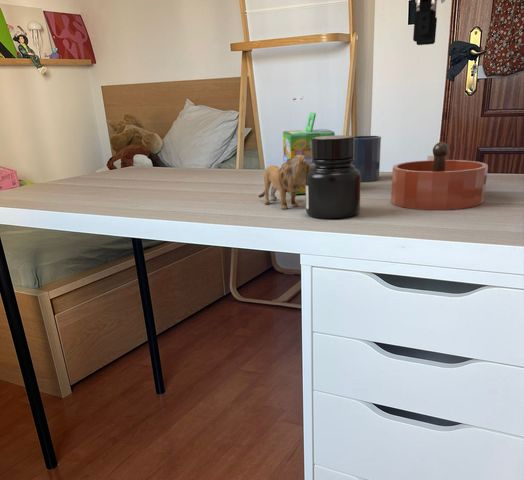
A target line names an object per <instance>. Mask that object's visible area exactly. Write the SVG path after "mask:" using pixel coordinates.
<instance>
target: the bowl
mask: <svg viewBox="0 0 524 480" xmlns="http://www.w3.org/2000/svg"><path fill="white" fill-rule="evenodd" d="M433 162H434V155H427V158H426V160H413V161H406V162H400V163H396V164H395V165H393V166H392V173H391V176H392V177H391V192H390V203H391V204H393V205H394V206H397V207H401V208H406V209H413V210H426V211H448V210H449V211H450V210H461V209H470V208H474V207H477V206H480V205H482V204H483V203H484V201H485V194H486V186H487V179H488V178H487V177H488V171H489V165H488V164H487V163H486V162H481V161H474V160H465V159H446V163H445V171H436V172H433Z"/></svg>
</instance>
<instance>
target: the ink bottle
mask: <svg viewBox="0 0 524 480" xmlns="http://www.w3.org/2000/svg"><path fill="white" fill-rule="evenodd" d="M355 136H356V135H350V134H349V135H347V134H346V135H343V134H341V135H340V134H339V135H336V134H335V136H321V137H314V138H312V158H313V159H312V162H313V163H315V166H313V167H312V168H311V170H310V171H308V173H307V174H306V194H305V212H306V213H305V214H306V215H308V216H310V217H314V218H320V219H342V218H347V217H352V216H356V215H358V214H359V213H360V212H361V185H362V182H361V174H360V171H359V170H358V169H356V168H355V166H354V165H352V164H351V162H353V161H354V159H355V158H354V156H355Z"/></svg>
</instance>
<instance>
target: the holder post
mask: <svg viewBox="0 0 524 480" xmlns="http://www.w3.org/2000/svg"><path fill="white" fill-rule="evenodd" d="M449 150H450V149H449V145H448V144H447V143H446V142H443V141H440V142H439V141H438V142H436V144H434V146H433V147H432V156H434V162H433V172H436V171H445V163H446V160H447V155H448V153H449Z"/></svg>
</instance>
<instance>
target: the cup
mask: <svg viewBox="0 0 524 480" xmlns="http://www.w3.org/2000/svg"><path fill="white" fill-rule="evenodd" d="M354 136H355V156H354V158H355V159H354V161H353V162H351V164H352V165H354V166H355V168H356V169H358V170H359V171H360V174H361V183H370V182H376V181H379V180H380V170H381V166H380V165H381V151H382V150H381V149H382V136H381V135H354Z"/></svg>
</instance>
